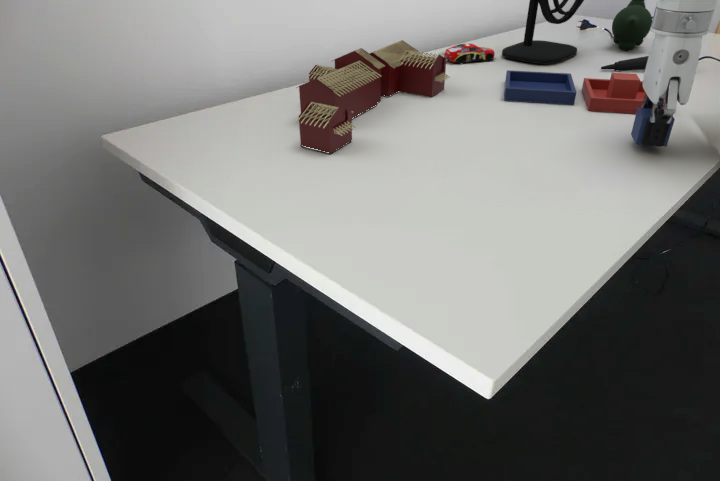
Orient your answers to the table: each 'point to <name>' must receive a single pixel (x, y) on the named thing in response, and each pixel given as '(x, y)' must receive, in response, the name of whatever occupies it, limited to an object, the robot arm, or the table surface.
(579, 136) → the table surface
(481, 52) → the race car
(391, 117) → the table surface
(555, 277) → the table surface
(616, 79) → the red block
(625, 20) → the toy figurine
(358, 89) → the toy houses
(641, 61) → the microphone
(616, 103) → the red tray
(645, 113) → the navy block
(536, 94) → the navy tray
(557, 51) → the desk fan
